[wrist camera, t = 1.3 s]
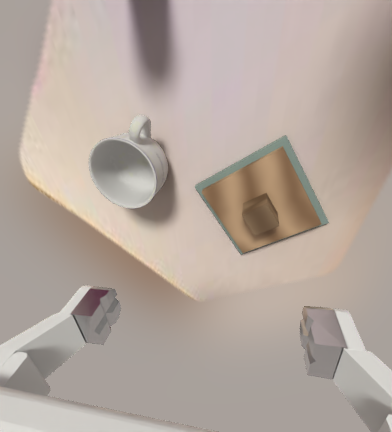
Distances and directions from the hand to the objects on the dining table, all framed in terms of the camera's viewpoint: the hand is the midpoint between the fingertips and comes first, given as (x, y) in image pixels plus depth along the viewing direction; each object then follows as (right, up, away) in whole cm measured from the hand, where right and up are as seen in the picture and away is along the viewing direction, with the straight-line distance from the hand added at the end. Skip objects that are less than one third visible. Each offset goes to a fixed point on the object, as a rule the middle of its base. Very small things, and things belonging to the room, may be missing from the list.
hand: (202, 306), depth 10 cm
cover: (+10, +6, +30) cm, 32 cm away
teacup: (-8, +15, +30) cm, 35 cm away
